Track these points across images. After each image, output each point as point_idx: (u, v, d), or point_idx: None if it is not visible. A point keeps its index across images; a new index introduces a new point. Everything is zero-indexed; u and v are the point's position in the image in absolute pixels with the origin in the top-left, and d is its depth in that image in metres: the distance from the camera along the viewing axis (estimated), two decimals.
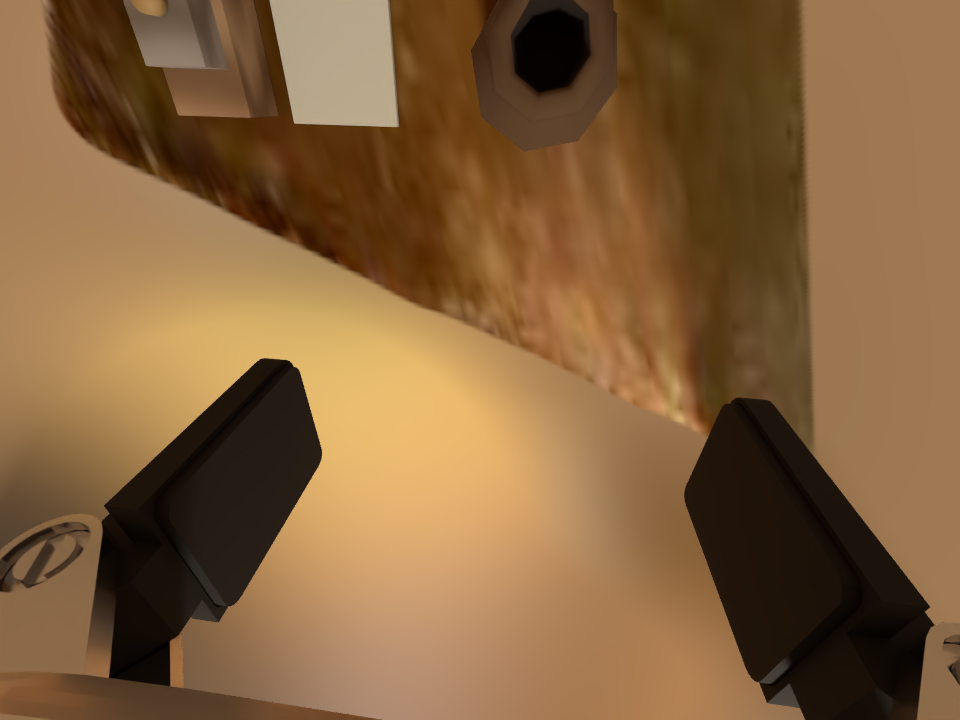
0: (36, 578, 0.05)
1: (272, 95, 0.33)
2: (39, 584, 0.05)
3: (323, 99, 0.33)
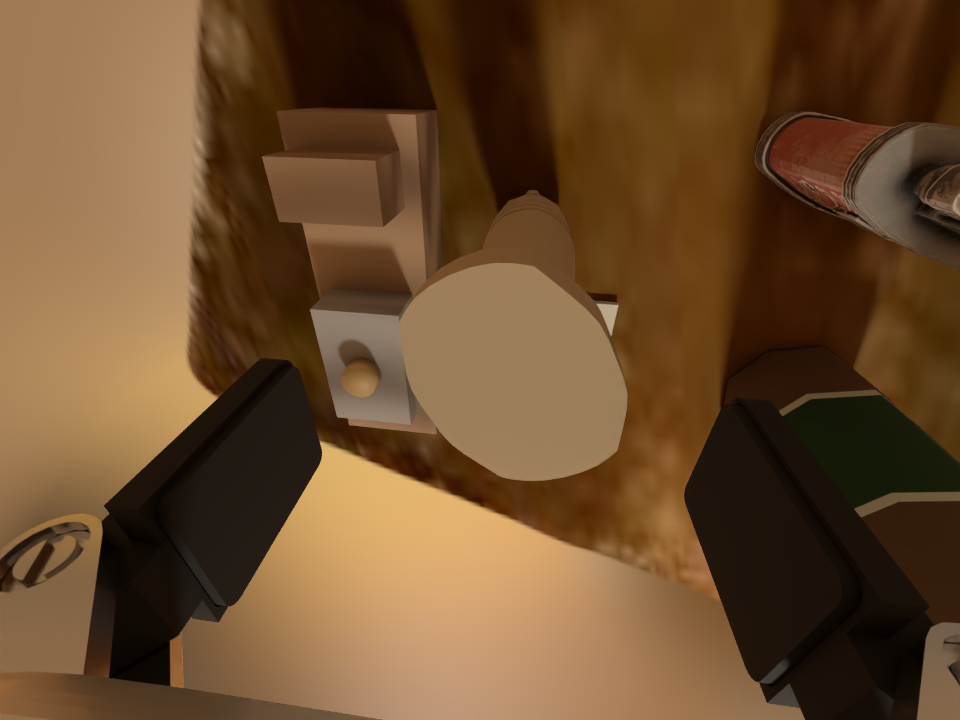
0: (36, 578, 0.05)
1: None
2: (39, 583, 0.05)
3: None
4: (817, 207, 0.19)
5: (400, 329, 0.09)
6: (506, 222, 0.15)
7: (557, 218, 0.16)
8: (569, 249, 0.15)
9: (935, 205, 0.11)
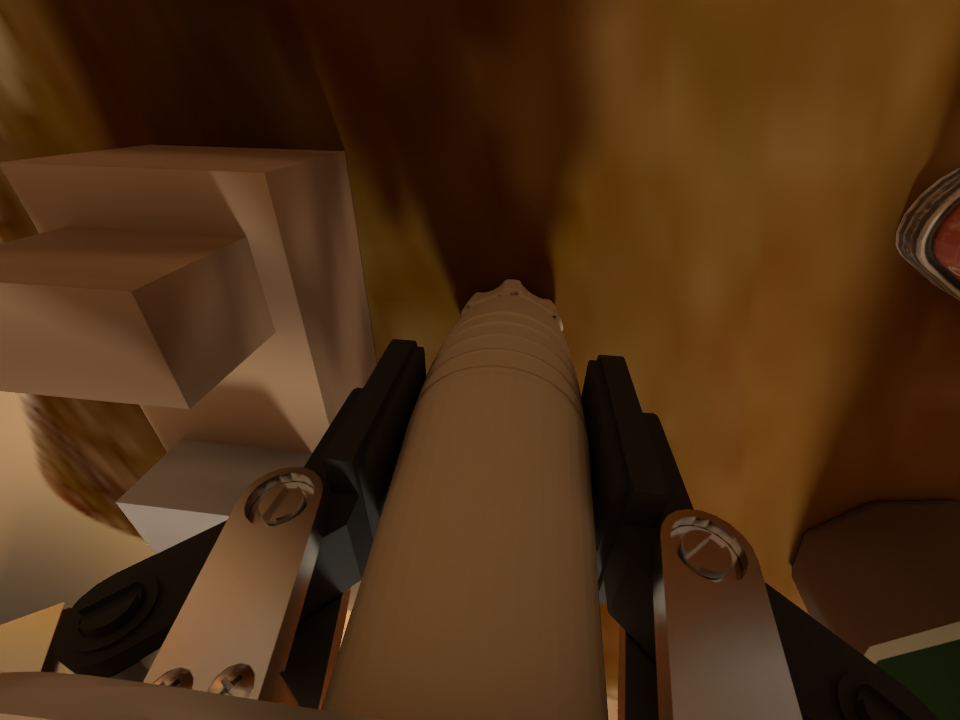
0: (271, 517, 0.06)
1: None
2: (271, 526, 0.06)
3: None
4: None
5: None
6: (444, 411, 0.07)
7: (554, 383, 0.08)
8: (582, 486, 0.07)
9: None
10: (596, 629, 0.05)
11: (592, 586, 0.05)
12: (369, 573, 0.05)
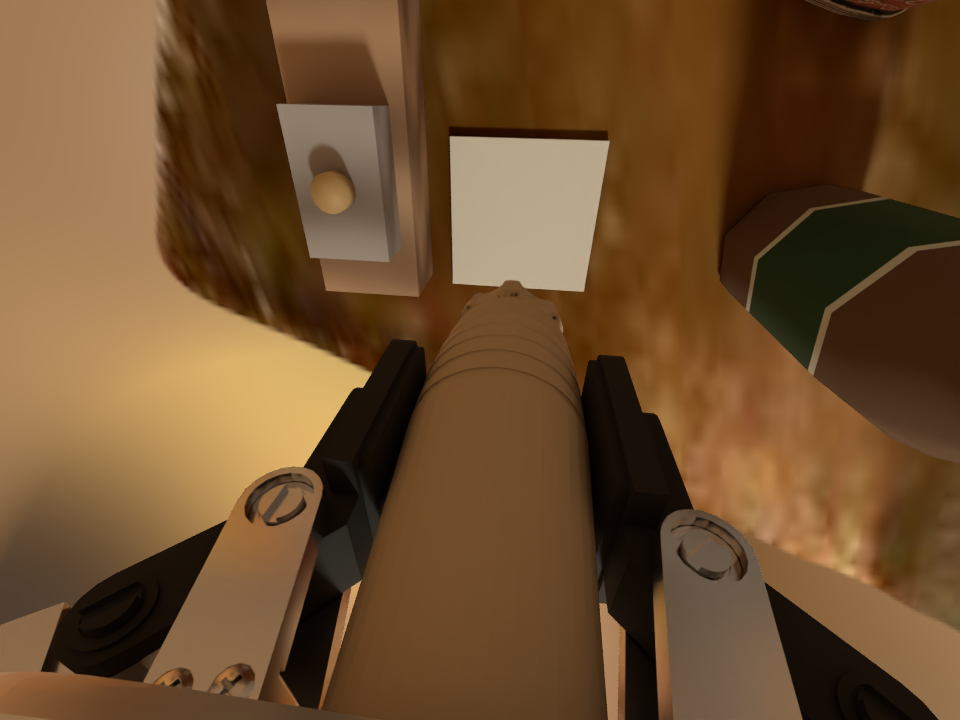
0: (271, 517, 0.06)
1: (430, 254, 0.27)
2: (271, 526, 0.06)
3: (495, 261, 0.27)
4: None
5: None
6: (444, 413, 0.07)
7: (554, 384, 0.08)
8: (582, 487, 0.07)
9: None
10: (596, 631, 0.05)
11: (592, 588, 0.05)
12: (369, 575, 0.05)
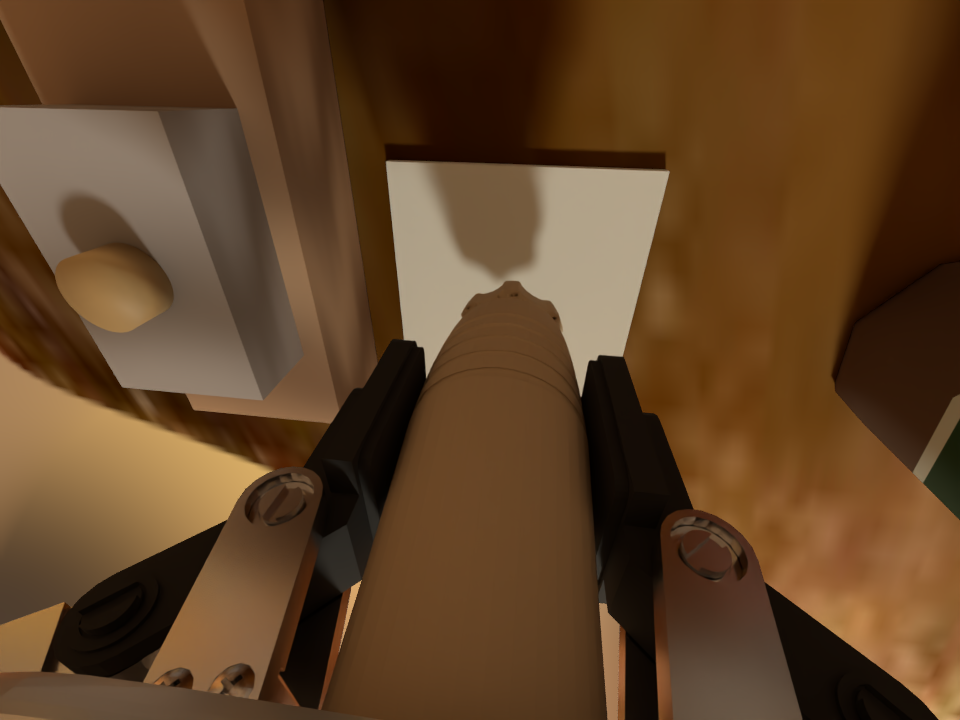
0: (271, 517, 0.06)
1: (371, 340, 0.17)
2: (271, 525, 0.06)
3: None
4: None
5: None
6: (444, 414, 0.07)
7: (554, 385, 0.08)
8: (582, 488, 0.07)
9: None
10: (595, 632, 0.05)
11: (591, 589, 0.05)
12: (369, 575, 0.05)
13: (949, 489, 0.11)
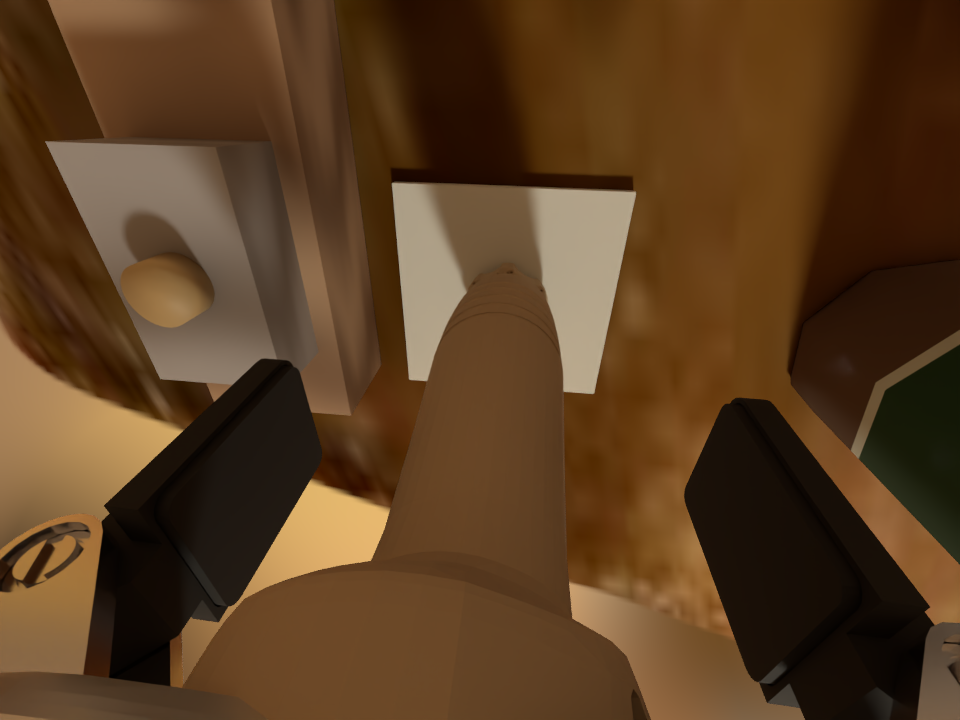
0: (36, 578, 0.05)
1: (376, 341, 0.19)
2: (39, 584, 0.05)
3: None
4: None
5: None
6: (462, 339, 0.10)
7: (537, 325, 0.11)
8: (555, 383, 0.10)
9: None
10: (559, 450, 0.08)
11: (558, 431, 0.09)
12: (420, 422, 0.09)
13: (877, 461, 0.13)
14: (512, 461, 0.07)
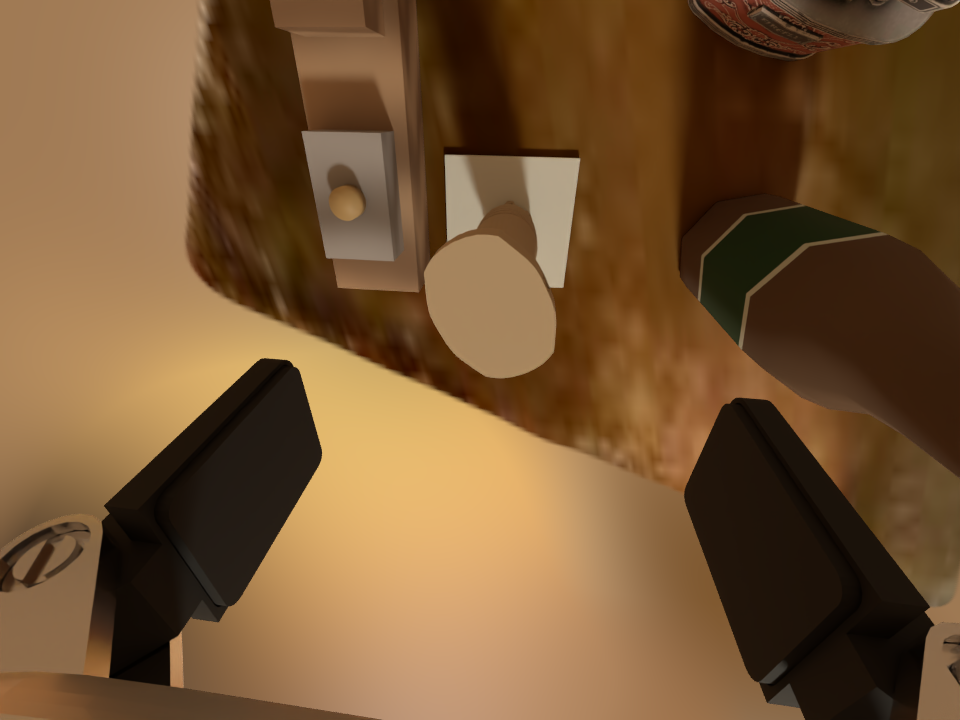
0: (37, 577, 0.05)
1: (429, 256, 0.31)
2: (40, 583, 0.05)
3: None
4: (742, 41, 0.22)
5: (424, 276, 0.16)
6: (488, 221, 0.22)
7: (524, 219, 0.23)
8: (531, 239, 0.22)
9: None
10: None
11: (531, 251, 0.21)
12: None
13: (704, 298, 0.25)
14: None
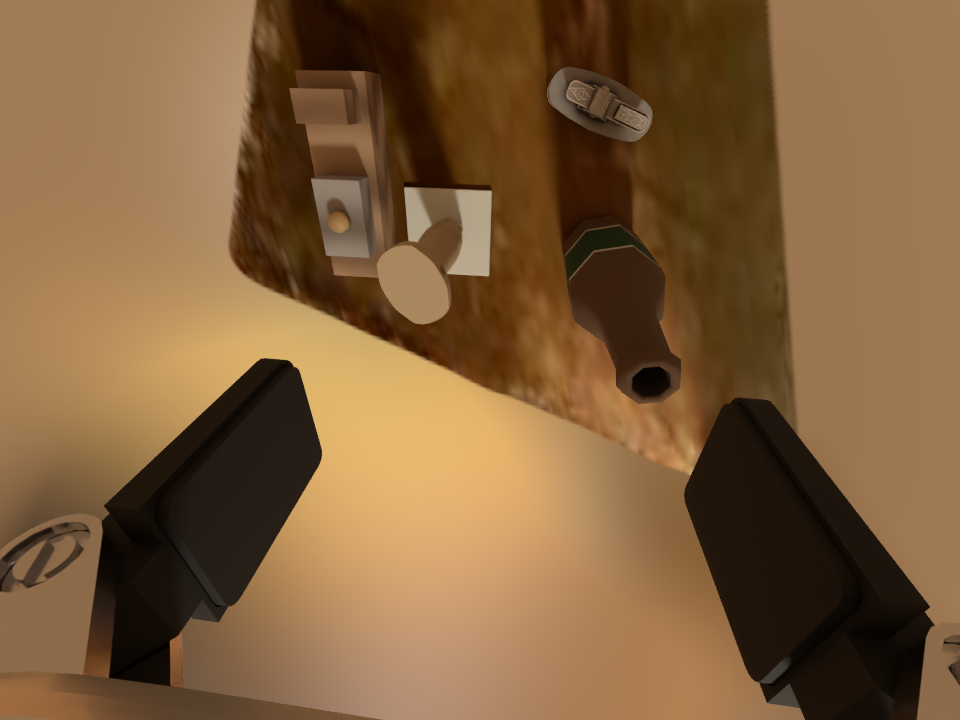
0: (36, 578, 0.05)
1: None
2: (39, 584, 0.05)
3: None
4: None
5: (377, 266, 0.30)
6: (425, 233, 0.36)
7: (449, 232, 0.37)
8: (450, 245, 0.36)
9: (567, 98, 0.28)
10: (446, 255, 0.34)
11: (447, 252, 0.35)
12: None
13: (567, 283, 0.39)
14: (431, 249, 0.33)
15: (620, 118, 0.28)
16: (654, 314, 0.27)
